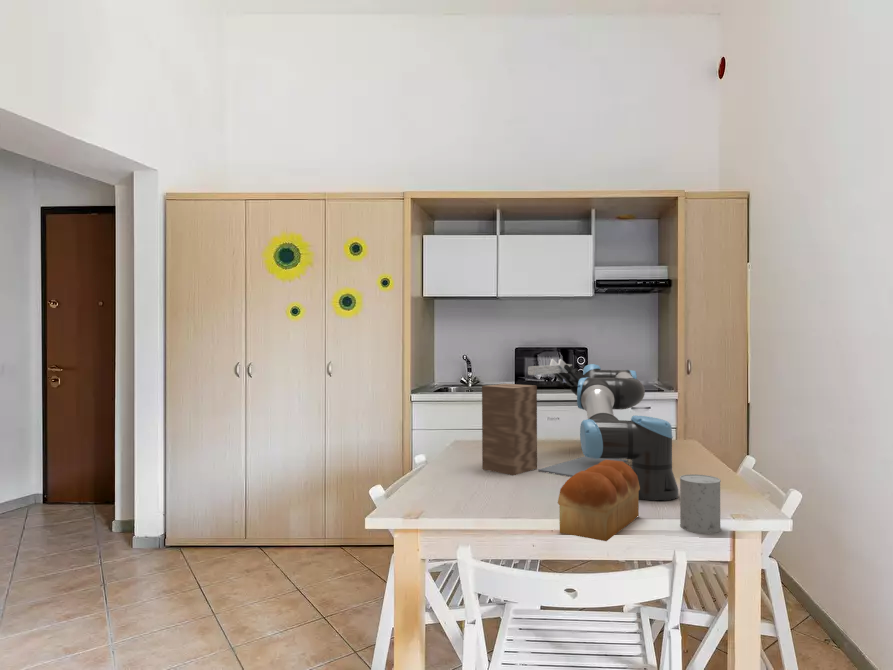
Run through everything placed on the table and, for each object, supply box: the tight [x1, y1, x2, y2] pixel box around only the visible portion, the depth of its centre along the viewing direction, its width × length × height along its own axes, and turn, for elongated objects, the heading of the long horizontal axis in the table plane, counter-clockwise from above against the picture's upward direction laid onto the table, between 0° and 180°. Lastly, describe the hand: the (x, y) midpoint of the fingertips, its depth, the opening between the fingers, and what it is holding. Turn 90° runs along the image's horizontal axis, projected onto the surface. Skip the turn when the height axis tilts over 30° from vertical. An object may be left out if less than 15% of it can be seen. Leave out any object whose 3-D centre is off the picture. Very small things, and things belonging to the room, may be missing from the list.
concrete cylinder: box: [679, 473, 722, 535], centre depth 159 cm, size 10×10×12 cm
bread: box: [557, 460, 640, 542], centre depth 162 cm, size 25×12×15 cm, turn 146°
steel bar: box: [527, 363, 573, 376], centre depth 244 cm, size 26×3×3 cm, turn 138°
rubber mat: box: [537, 455, 629, 477], centre depth 232 cm, size 36×16×1 cm, turn 137°
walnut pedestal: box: [481, 383, 538, 476], centre depth 228 cm, size 14×14×30 cm
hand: (555, 362), depth 246 cm, fingers closed on steel bar, 3 cm apart
